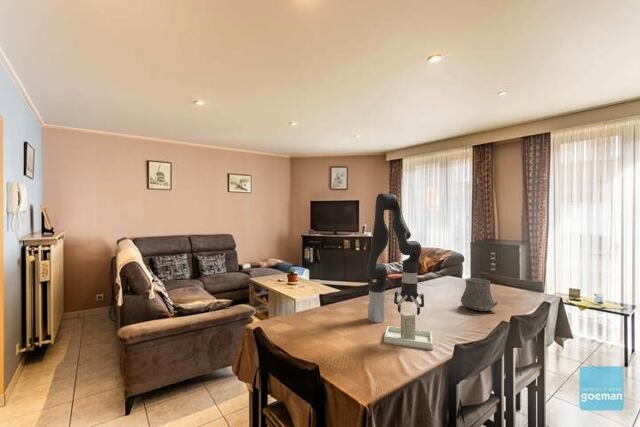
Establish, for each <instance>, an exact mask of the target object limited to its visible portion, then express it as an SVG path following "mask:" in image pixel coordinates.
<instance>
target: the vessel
mask: <svg viewBox="0 0 640 427" xmlns="http://www.w3.org/2000/svg"><path fill="white" fill-rule="evenodd" d="M491 283H492V282H491V280H487V279H485V278H480V277H469V278H468V277H467V278H465V289H464V291H463V293H462V296H461V298H460V303H461V304H462V306H463V307H465V308H468V309H470V310H473V311H477V310H478V311H479V312H488V311H491V310H493V309H494V308H495V307H496V306H497V305H498V304H499V303H498V301H494V298H493V295H492V293H491Z"/></svg>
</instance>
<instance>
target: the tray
mask: <svg viewBox="0 0 640 427" xmlns="http://www.w3.org/2000/svg"><path fill="white" fill-rule="evenodd" d="M433 341H434V340H433V331H431V330H423V329H416V328H415V340H409V339H402V338H401V326H391V325H387V327H386V330H385V333H384V335H383V343H384V344H389V345H395V346H402V347H409V348H415V349H423V350H430V351H433V350H434V349H433V348H434V347H433V345H434V342H433Z"/></svg>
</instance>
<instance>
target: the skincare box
mask: <svg viewBox="0 0 640 427" xmlns="http://www.w3.org/2000/svg"><path fill="white" fill-rule="evenodd" d="M400 327H401V338H402V339H409V340H415V329H416V315H415V314H414V312H401V313H400Z"/></svg>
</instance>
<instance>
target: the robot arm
mask: <svg viewBox="0 0 640 427" xmlns="http://www.w3.org/2000/svg"><path fill="white" fill-rule="evenodd" d="M385 211H391V213H392V215H393V220H392V221H393V222H392V229H393V231H394V233H395V235H396V237H397V244H398V250H399V252H400V253H401V254H402V255H403V256H409V257H408V258H406V259H404V260H403V261H402V269H401V270H402V272H401V291H398V290H395V291H394V298H393V304H395V305H397V312H398V313H399V314H401V313H402V311H401V310H402V309H401V308H402V304H403V303H404V302H405V303H409V302H410V303H414V305H416V316H419V315H420V314H421V308H424V307H425V295H424V293H418V277H419V276H418V263H419V261H420V257H421V253H422V245H421V243H420V242H419V241H417V240H409V239H410V238H411V236H412V233H411V231H410V229H409V226H408V225H407V222H406V220H405V218H404V215H403V212H402V207H401V206H400V203H399V199H398V197H397V196H396V195H395V194H393V193H383V192H381V193H378V194H377V196H376V199H375V207H374V222H373V223H374V224H373V230H372V236H371V237H372V238H371V245H370V252H369V253H370V254H369V257H368V262H367V266H366V278H368V279H369V280H375V282H373V283H372V284H370V285H369V288H368V304H367V321H369V322H372V323H384V322H385V316H386V315H385V312H386V308H385V303H386V287H387V266H386V265H385V264H384V263H377V262H378V261H379V260H378V259H379V257H380V256H381V254H382V253H383V252H384V251H385V250H386V248H387V246H388V244H389V238H390V231H389V228H388V226H387V224H386V221H385V218H384V217H385ZM399 296H401V299H400V300H399V301H398V297H399ZM417 298H419V299H421V300H420V302H421V303H420V302H419V301H418V300H417Z"/></svg>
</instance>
